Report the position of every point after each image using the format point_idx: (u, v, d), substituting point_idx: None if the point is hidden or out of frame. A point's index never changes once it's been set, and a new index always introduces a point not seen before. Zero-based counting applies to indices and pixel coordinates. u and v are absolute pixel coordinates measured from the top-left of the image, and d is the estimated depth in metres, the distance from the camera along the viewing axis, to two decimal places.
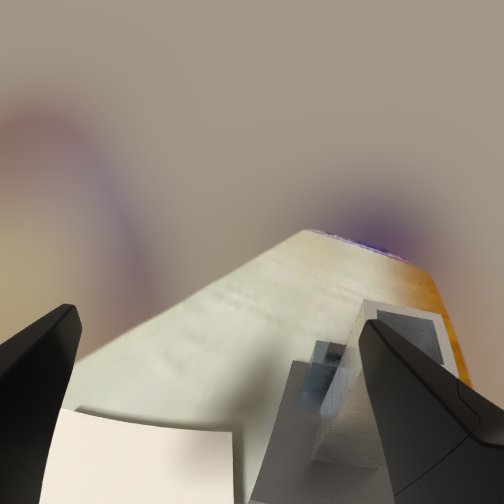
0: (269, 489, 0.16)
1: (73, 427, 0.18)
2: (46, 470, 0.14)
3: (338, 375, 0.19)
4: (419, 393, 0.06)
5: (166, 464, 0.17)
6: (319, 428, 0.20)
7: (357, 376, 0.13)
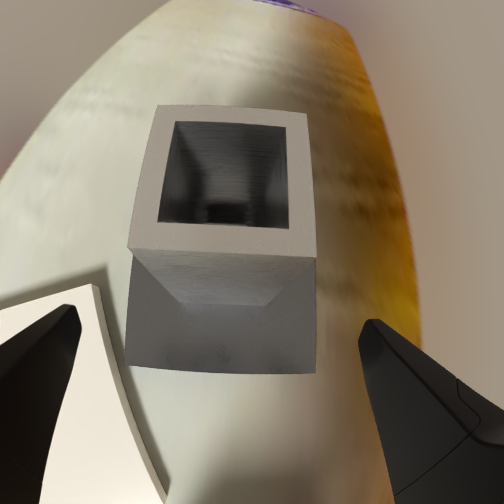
0: (140, 348, 0.18)
1: None
2: None
3: None
4: (419, 393, 0.06)
5: None
6: None
7: None
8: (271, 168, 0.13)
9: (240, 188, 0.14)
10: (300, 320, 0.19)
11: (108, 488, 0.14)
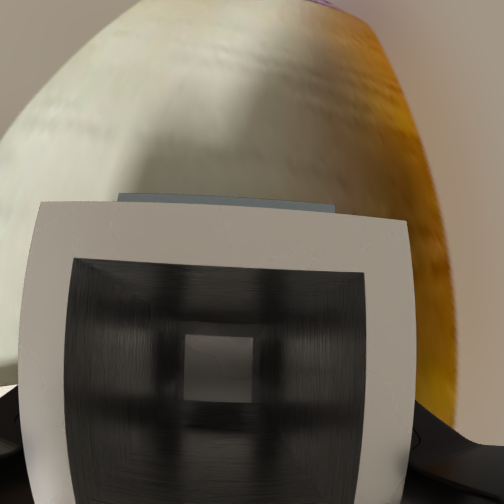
0: None
1: None
2: None
3: None
4: None
5: None
6: None
7: None
8: (304, 301, 0.07)
9: (243, 309, 0.08)
10: None
11: None
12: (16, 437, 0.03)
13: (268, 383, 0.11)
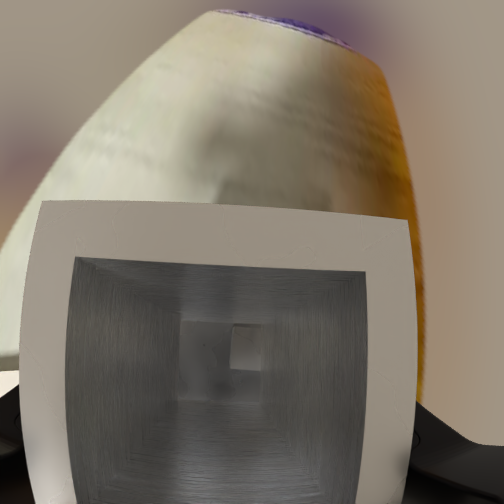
0: None
1: (0, 390, 0.17)
2: None
3: None
4: None
5: None
6: None
7: None
8: (305, 300, 0.07)
9: (244, 309, 0.08)
10: None
11: None
12: (16, 437, 0.03)
13: (269, 383, 0.11)
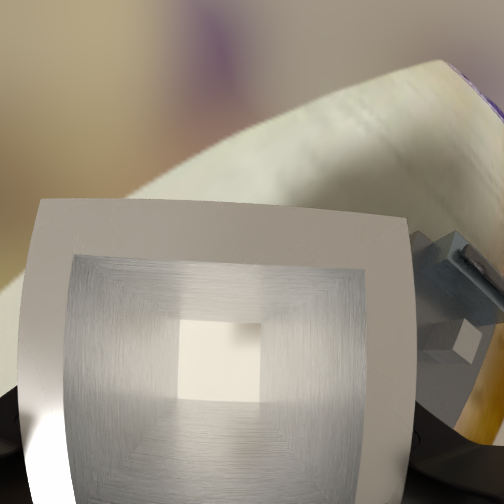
0: None
1: None
2: None
3: None
4: None
5: None
6: None
7: None
8: (304, 299, 0.07)
9: (243, 308, 0.08)
10: (455, 407, 0.18)
11: None
12: (16, 437, 0.03)
13: (268, 382, 0.11)
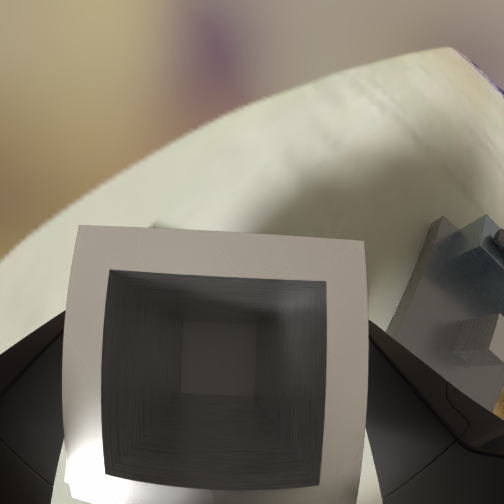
0: None
1: None
2: None
3: None
4: (407, 395, 0.06)
5: None
6: None
7: None
8: (288, 302, 0.08)
9: (239, 309, 0.10)
10: None
11: None
12: None
13: (262, 376, 0.12)
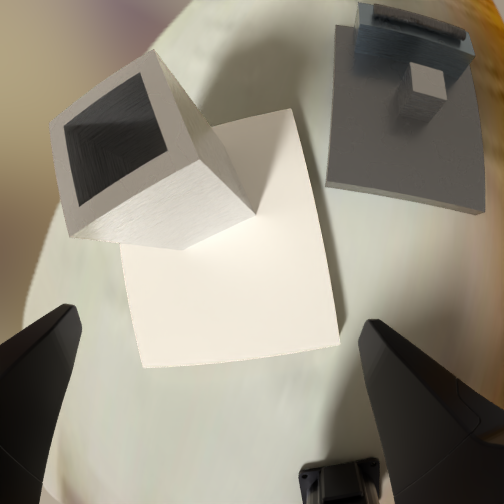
0: (343, 166, 0.19)
1: None
2: None
3: None
4: (419, 393, 0.06)
5: (234, 163, 0.20)
6: None
7: None
8: None
9: (162, 133, 0.14)
10: (473, 163, 0.17)
11: (281, 326, 0.19)
12: None
13: None
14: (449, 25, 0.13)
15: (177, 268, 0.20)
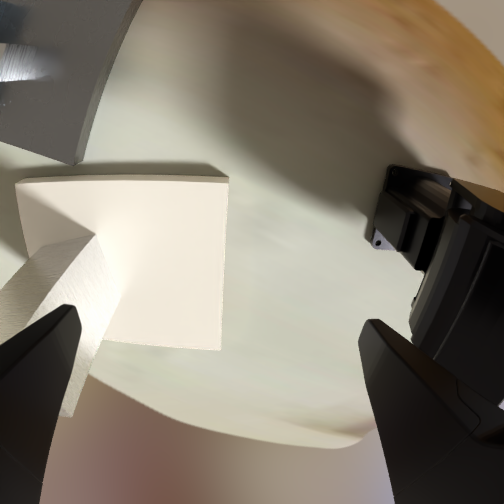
0: (62, 146, 0.16)
1: None
2: (106, 335, 0.24)
3: None
4: (419, 393, 0.06)
5: (55, 241, 0.19)
6: None
7: (75, 402, 0.13)
8: None
9: None
10: None
11: (196, 234, 0.20)
12: None
13: None
14: None
15: (135, 304, 0.22)
